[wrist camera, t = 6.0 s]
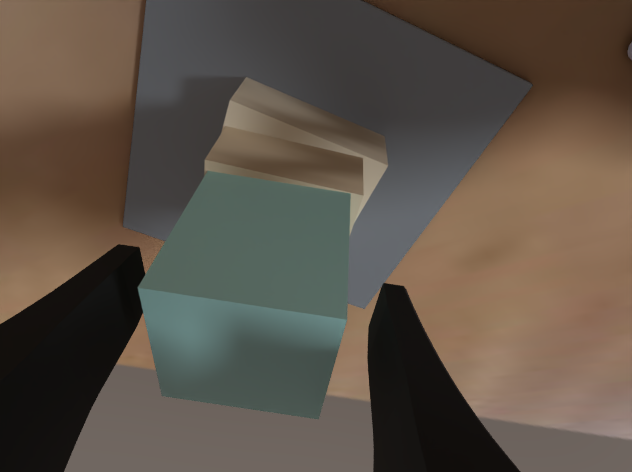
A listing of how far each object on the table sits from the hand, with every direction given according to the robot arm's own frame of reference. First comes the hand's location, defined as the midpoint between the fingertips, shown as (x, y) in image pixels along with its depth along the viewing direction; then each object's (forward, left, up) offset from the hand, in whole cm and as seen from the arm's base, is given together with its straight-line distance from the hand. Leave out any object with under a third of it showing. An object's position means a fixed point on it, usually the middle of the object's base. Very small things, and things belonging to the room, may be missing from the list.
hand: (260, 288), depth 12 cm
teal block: (0, 0, -2) cm, 2 cm away
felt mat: (0, 0, -8) cm, 8 cm away
